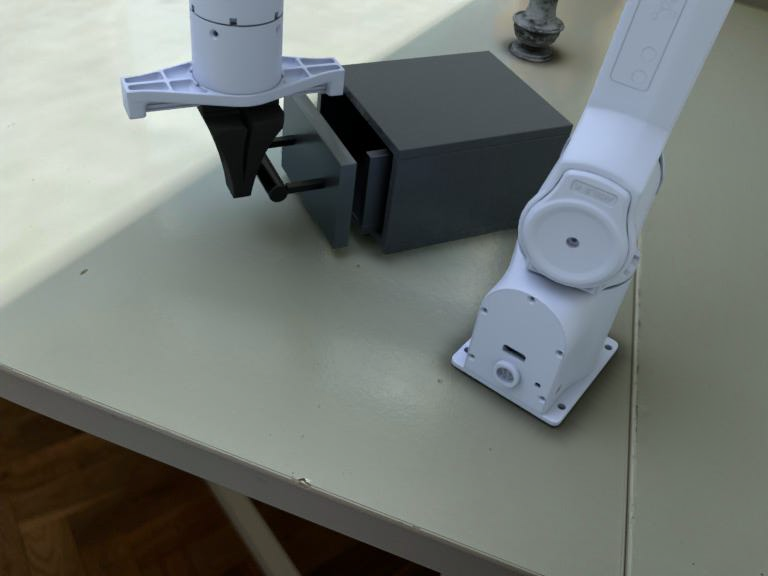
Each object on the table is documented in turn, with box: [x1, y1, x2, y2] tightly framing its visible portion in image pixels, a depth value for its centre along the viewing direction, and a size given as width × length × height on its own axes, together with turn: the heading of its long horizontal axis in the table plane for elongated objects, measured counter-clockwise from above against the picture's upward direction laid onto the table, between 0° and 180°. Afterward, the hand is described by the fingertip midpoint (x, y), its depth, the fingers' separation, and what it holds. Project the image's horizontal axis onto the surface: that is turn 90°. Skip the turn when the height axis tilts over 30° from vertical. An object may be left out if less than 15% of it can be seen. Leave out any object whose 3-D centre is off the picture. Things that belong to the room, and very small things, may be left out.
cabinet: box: [340, 50, 574, 255], centre depth 63 cm, size 15×13×9 cm
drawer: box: [256, 92, 394, 250], centre depth 60 cm, size 18×11×7 cm, turn 115°
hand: (238, 189), depth 57 cm, fingers closed
